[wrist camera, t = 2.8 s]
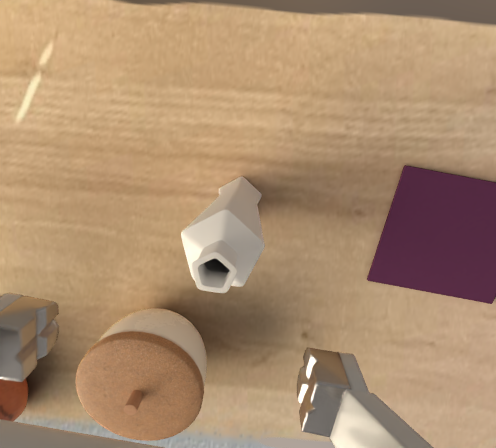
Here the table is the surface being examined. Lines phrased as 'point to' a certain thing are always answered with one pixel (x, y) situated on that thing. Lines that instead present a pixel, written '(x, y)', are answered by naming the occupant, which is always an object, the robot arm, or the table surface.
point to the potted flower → (12, 399)
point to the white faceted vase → (225, 238)
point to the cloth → (440, 236)
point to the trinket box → (144, 375)
